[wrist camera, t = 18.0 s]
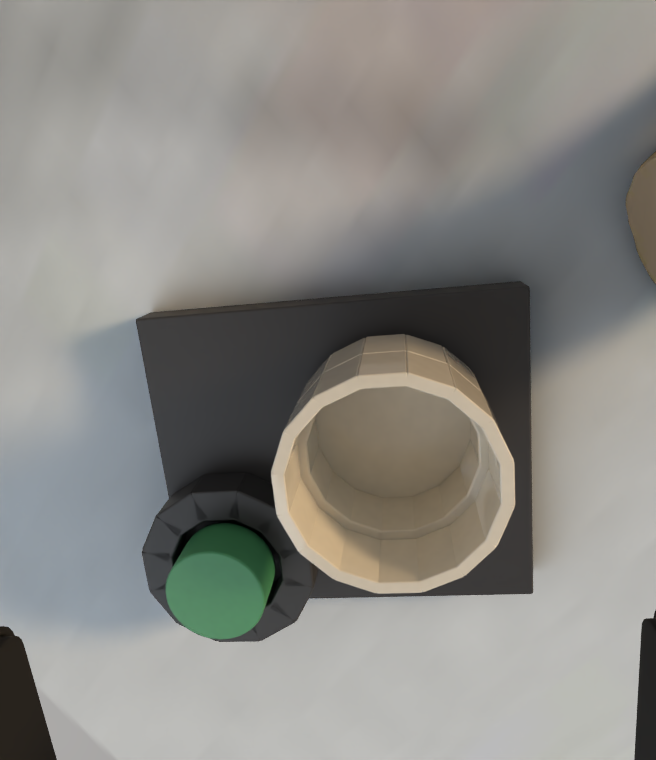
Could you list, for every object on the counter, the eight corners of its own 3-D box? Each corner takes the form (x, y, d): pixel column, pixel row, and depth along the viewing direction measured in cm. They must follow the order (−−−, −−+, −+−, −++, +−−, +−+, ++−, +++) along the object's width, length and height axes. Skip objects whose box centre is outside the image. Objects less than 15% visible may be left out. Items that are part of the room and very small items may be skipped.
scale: (184, 596, 28) (159, 643, 25) (130, 313, 24) (94, 329, 21) (526, 589, 26) (542, 639, 23) (521, 280, 22) (540, 293, 19)
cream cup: (311, 509, 24) (287, 596, 19) (290, 338, 22) (257, 382, 17) (490, 502, 23) (517, 591, 18) (484, 323, 21) (512, 364, 16)
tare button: (191, 605, 24) (173, 641, 23) (176, 523, 23) (156, 553, 22) (281, 603, 24) (270, 639, 22) (269, 520, 23) (257, 550, 21)
